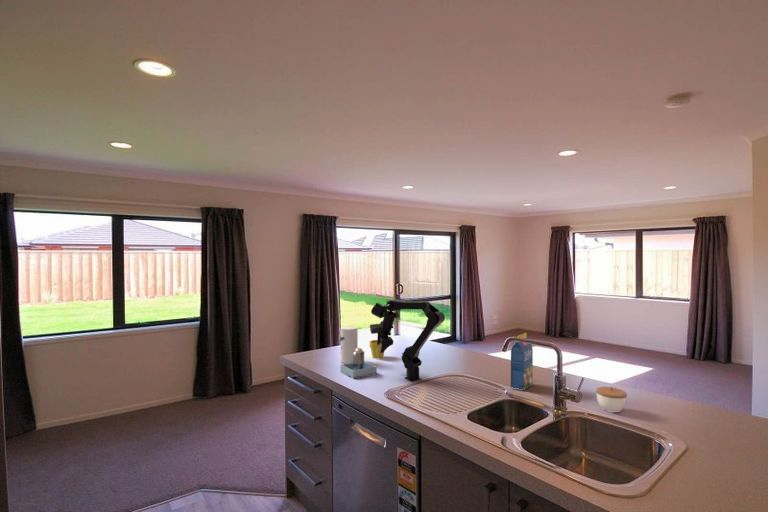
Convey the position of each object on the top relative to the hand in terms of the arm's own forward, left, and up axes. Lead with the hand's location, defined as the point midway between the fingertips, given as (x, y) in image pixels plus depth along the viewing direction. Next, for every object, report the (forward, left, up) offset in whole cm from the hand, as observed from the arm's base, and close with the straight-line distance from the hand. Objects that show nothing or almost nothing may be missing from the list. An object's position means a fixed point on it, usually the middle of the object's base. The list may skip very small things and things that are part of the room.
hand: (379, 348), depth 208 cm
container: (+29, +3, -13) cm, 32 cm away
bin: (+6, +10, -13) cm, 17 cm away
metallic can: (+5, +10, -12) cm, 16 cm away
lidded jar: (-94, -50, -13) cm, 108 cm away
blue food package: (-56, -44, -13) cm, 73 cm away
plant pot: (+27, -16, -13) cm, 34 cm away
